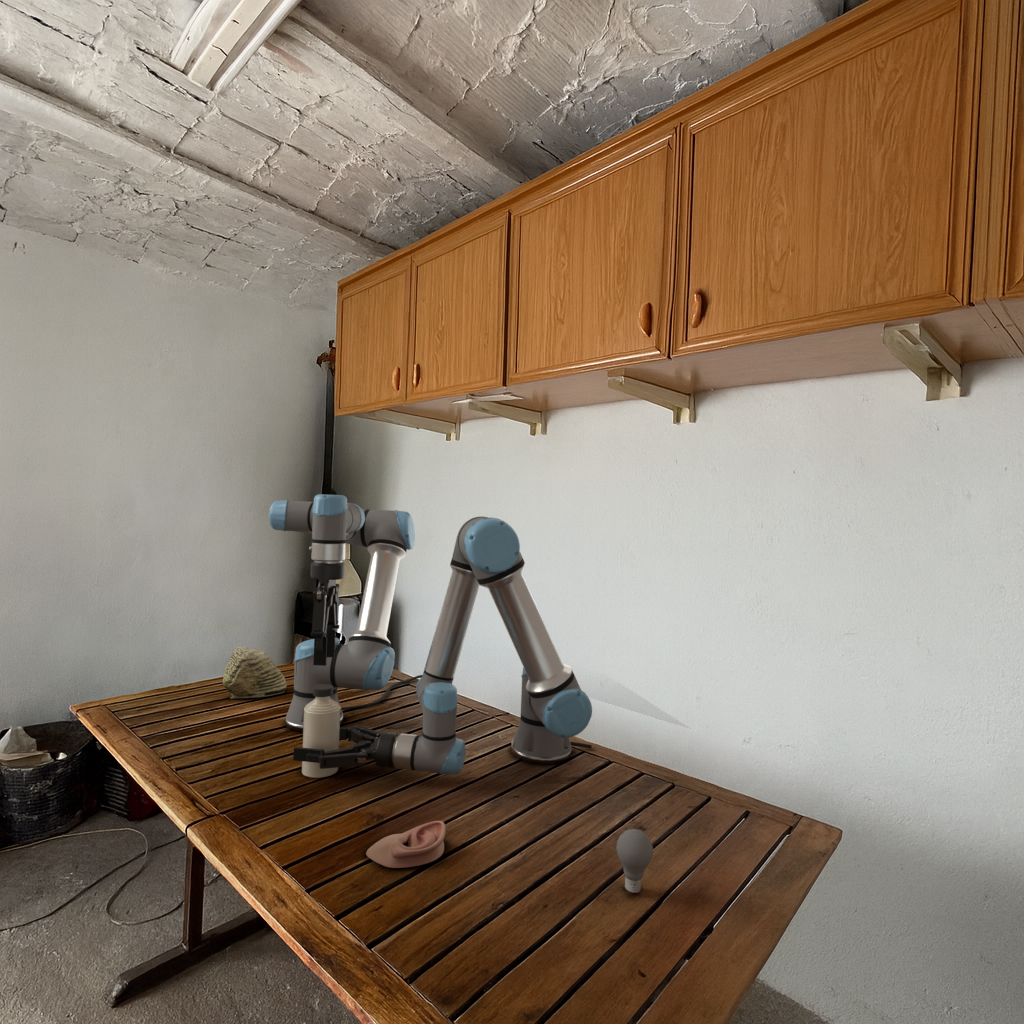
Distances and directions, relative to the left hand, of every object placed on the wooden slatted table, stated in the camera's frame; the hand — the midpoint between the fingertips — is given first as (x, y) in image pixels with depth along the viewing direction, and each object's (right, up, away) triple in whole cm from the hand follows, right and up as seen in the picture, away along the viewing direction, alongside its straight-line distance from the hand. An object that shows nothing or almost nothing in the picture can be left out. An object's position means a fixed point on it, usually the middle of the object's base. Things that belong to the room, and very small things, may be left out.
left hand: (324, 660), depth 146 cm
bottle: (-1, -26, +1) cm, 25 cm away
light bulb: (+64, -29, -40) cm, 81 cm away
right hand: (-4, -19, +1) cm, 19 cm away
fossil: (-37, -23, +52) cm, 68 cm away
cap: (0, -6, 0) cm, 6 cm away
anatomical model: (+24, -27, -32) cm, 48 cm away
